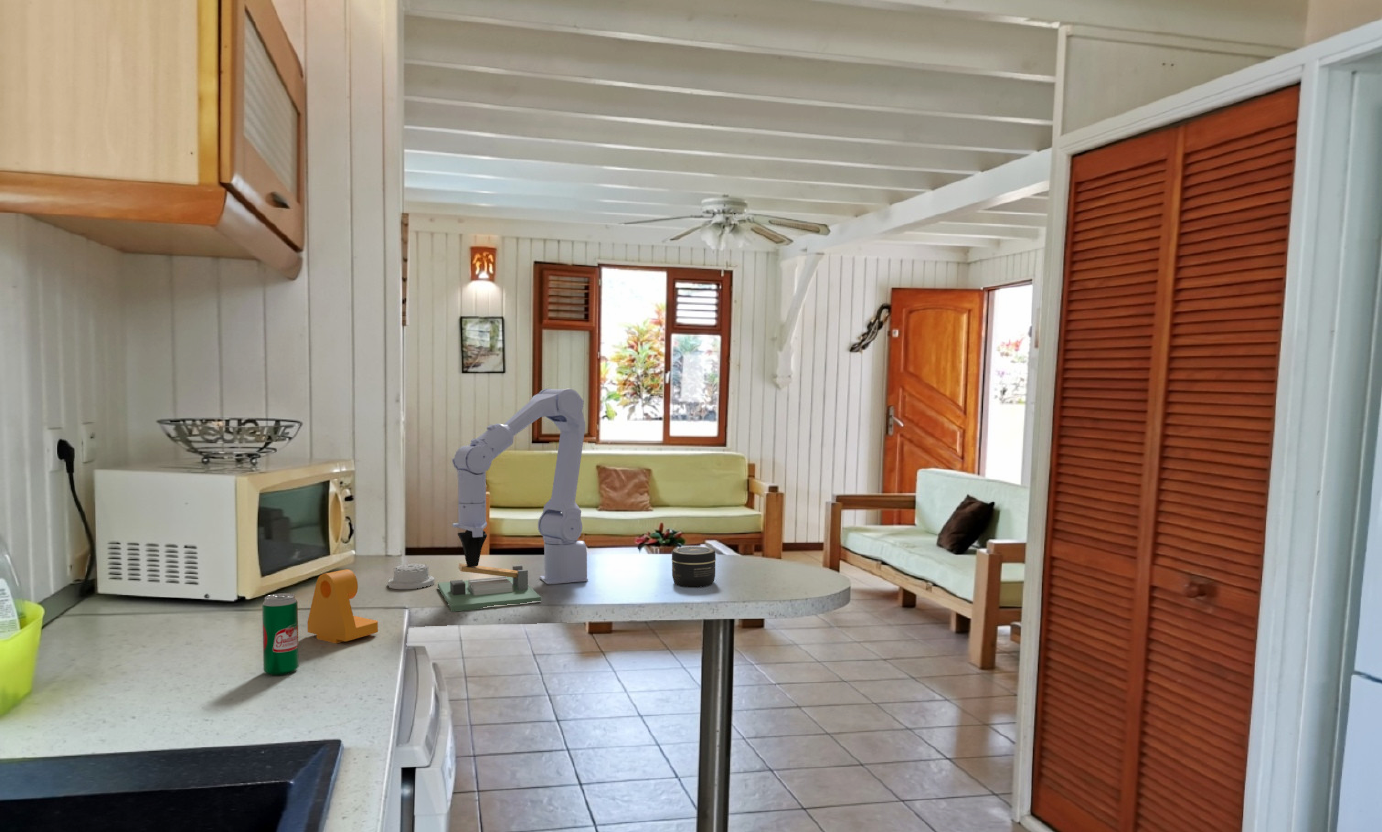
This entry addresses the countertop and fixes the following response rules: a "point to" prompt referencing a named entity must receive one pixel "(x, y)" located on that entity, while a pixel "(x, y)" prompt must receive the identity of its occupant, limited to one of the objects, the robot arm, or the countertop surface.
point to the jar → (693, 566)
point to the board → (488, 591)
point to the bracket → (337, 609)
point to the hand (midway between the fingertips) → (472, 566)
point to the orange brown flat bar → (489, 570)
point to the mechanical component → (411, 577)
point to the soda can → (280, 634)
